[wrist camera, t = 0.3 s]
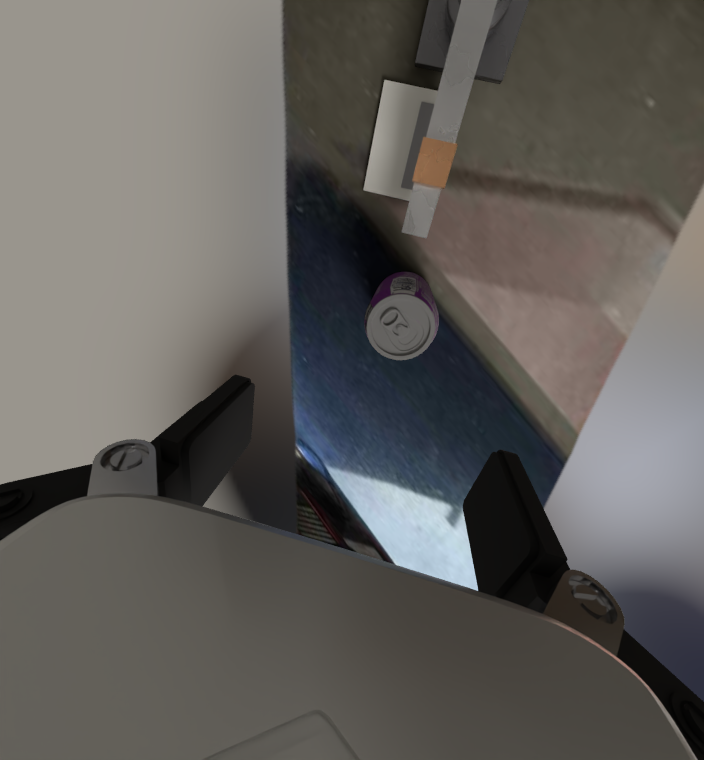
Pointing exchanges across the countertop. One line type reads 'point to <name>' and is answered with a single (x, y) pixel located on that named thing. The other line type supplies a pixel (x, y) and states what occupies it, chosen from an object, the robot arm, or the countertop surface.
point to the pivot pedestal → (496, 44)
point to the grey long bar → (448, 112)
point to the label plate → (398, 138)
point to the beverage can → (402, 316)
